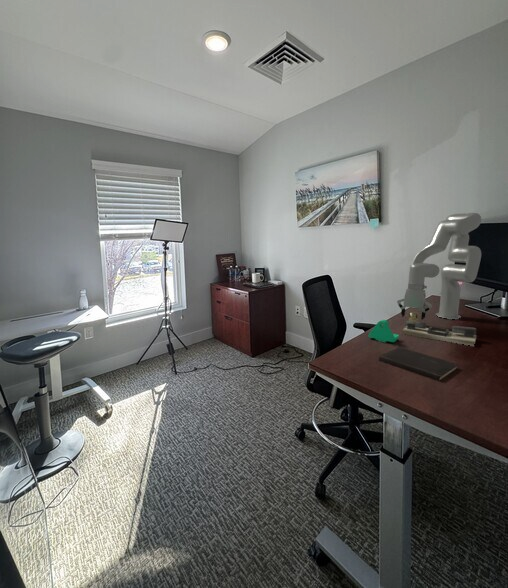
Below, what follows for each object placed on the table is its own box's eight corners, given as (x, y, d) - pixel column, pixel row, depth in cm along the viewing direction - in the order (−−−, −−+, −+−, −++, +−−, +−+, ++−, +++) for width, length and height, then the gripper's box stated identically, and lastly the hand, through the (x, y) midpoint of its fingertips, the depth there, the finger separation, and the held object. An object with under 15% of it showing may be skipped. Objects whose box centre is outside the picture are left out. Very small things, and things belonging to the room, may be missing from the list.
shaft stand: (407, 328, 162) (408, 317, 161) (475, 339, 143) (477, 327, 142) (401, 333, 153) (402, 322, 152) (473, 346, 135) (475, 333, 133)
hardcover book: (398, 351, 133) (399, 346, 132) (457, 369, 114) (458, 364, 114) (378, 361, 123) (378, 356, 123) (439, 382, 105) (439, 376, 105)
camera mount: (399, 340, 146) (400, 319, 144) (393, 344, 140) (395, 323, 138) (374, 335, 154) (375, 315, 152) (368, 339, 148) (369, 319, 146)
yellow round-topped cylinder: (409, 323, 171) (410, 311, 169) (418, 324, 168) (419, 312, 167) (407, 325, 167) (408, 313, 166) (416, 326, 164) (417, 314, 163)
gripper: (435, 287, 161) (431, 318, 164) (400, 284, 171) (397, 313, 175) (432, 289, 155) (429, 321, 158) (396, 286, 166) (394, 316, 169)
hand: (412, 317), depth 166 cm, fingers open, 9 cm apart
